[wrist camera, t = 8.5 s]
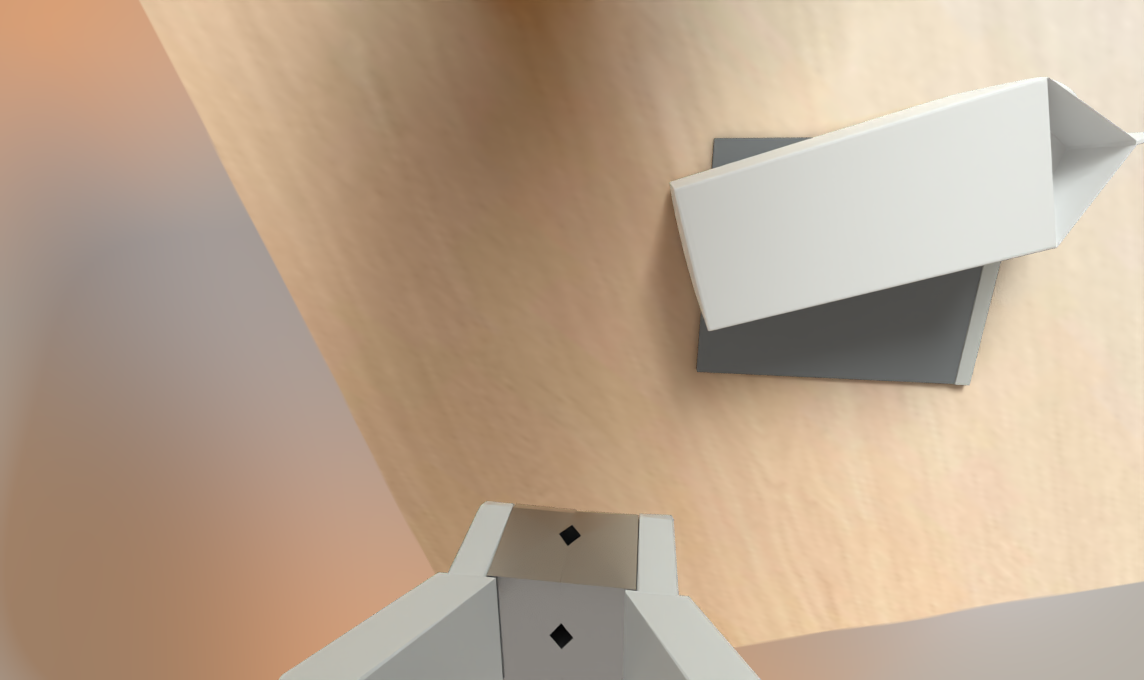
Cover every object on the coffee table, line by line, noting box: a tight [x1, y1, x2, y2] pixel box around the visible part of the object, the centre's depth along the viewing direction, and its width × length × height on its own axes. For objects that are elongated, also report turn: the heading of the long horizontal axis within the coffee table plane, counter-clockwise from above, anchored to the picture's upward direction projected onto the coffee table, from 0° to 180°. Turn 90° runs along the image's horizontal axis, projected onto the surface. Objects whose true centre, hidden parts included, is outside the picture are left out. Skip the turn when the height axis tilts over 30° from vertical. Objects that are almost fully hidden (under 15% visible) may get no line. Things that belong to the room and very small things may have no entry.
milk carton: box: [669, 77, 1144, 331], centre depth 27 cm, size 7×7×19 cm
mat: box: [697, 138, 1001, 385], centre depth 31 cm, size 14×16×1 cm
